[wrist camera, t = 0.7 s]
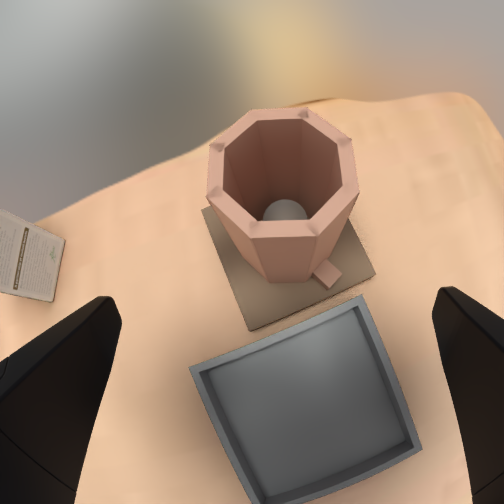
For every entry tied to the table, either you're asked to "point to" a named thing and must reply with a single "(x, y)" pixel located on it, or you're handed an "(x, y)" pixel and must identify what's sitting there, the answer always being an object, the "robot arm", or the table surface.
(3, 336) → the table surface
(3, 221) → the syrup box
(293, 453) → the charcoal tray
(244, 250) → the ring tube
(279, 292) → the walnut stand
